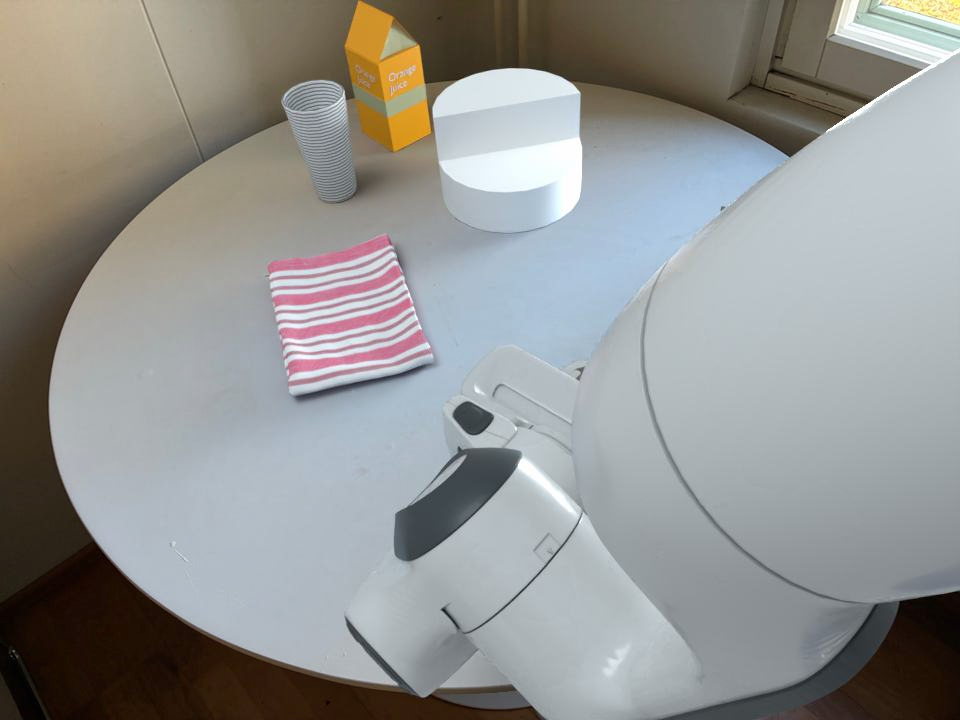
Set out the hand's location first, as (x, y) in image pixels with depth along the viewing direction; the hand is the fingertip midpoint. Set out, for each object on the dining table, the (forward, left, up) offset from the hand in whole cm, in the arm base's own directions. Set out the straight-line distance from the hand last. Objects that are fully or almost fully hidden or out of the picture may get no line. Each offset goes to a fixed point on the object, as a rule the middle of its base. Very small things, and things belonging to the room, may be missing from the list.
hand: (638, 371), depth 62 cm
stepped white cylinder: (+27, -46, -19) cm, 56 cm away
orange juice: (+50, -55, -19) cm, 77 cm away
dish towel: (+38, -14, -19) cm, 45 cm away
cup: (+52, -38, -19) cm, 68 cm away
